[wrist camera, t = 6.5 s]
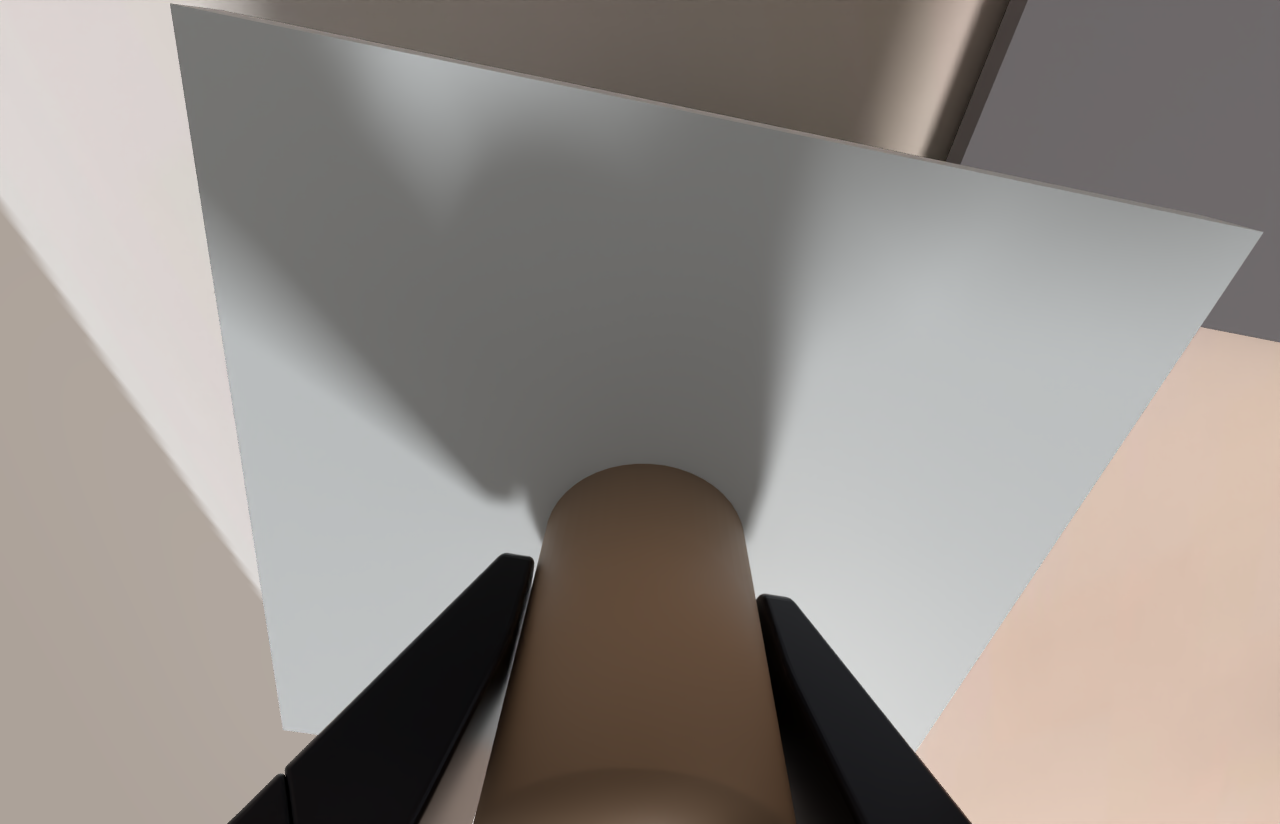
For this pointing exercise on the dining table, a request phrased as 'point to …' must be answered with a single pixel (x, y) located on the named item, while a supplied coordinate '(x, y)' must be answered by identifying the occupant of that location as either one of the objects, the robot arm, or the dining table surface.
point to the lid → (650, 397)
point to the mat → (1145, 118)
